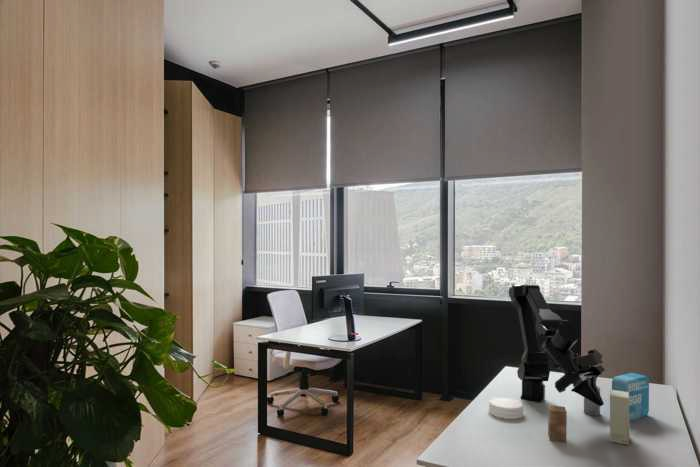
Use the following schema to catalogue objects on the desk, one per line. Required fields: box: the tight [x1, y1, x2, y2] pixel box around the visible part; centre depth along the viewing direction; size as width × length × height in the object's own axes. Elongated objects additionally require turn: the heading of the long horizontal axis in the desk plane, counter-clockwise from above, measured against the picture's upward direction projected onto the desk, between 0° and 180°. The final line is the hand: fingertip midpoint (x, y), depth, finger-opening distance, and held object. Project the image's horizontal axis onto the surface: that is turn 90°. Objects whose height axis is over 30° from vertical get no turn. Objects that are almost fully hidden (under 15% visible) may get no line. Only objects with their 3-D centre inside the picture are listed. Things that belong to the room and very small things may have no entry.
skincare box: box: [609, 389, 630, 446], centre depth 124 cm, size 6×4×12 cm
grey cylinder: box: [583, 385, 601, 417], centre depth 143 cm, size 4×4×8 cm
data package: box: [611, 372, 650, 422], centre depth 141 cm, size 12×4×12 cm, turn 120°
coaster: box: [488, 396, 524, 420], centre depth 142 cm, size 10×10×4 cm
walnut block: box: [547, 404, 568, 444], centre depth 124 cm, size 4×4×8 cm
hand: (602, 405), depth 127 cm, fingers closed
